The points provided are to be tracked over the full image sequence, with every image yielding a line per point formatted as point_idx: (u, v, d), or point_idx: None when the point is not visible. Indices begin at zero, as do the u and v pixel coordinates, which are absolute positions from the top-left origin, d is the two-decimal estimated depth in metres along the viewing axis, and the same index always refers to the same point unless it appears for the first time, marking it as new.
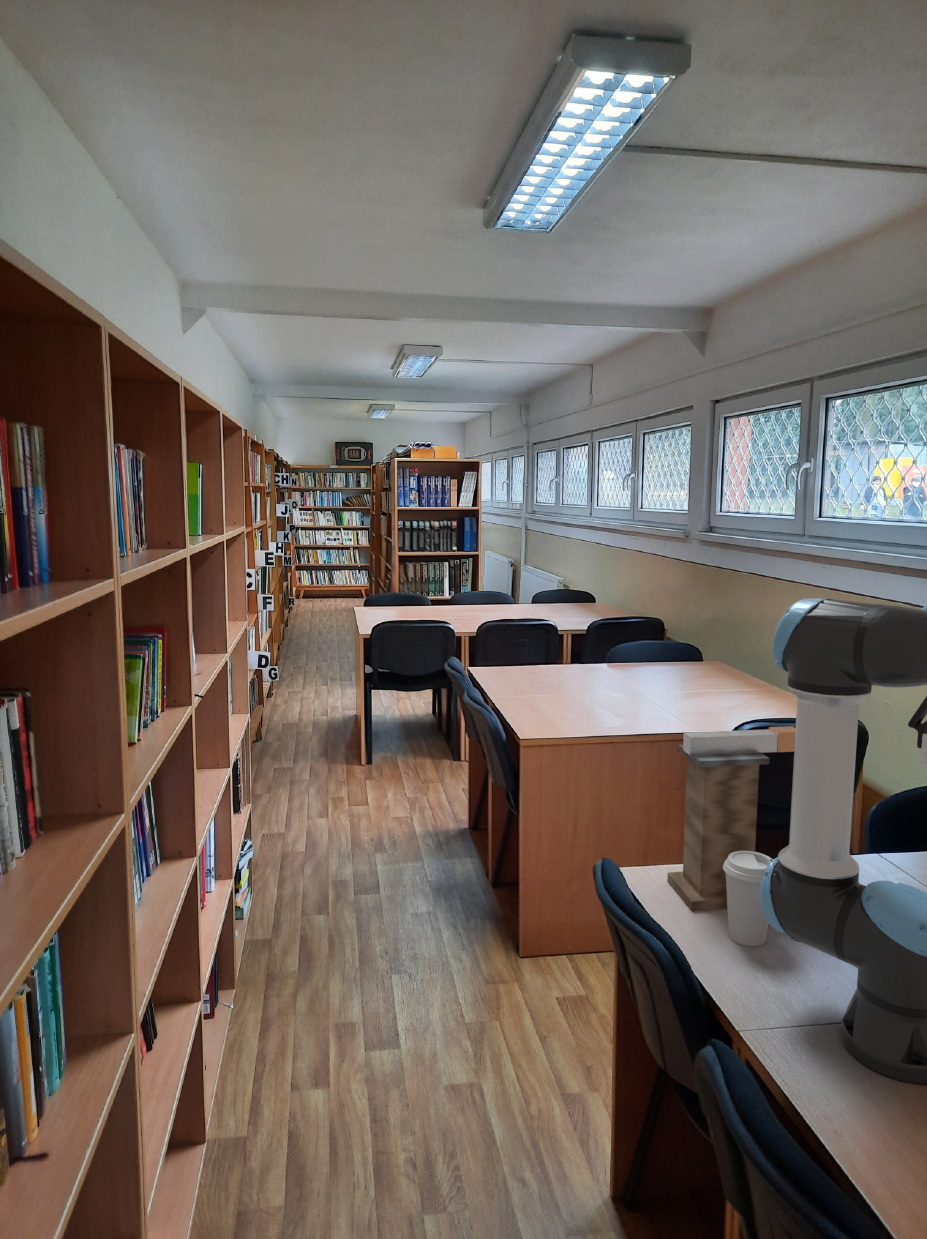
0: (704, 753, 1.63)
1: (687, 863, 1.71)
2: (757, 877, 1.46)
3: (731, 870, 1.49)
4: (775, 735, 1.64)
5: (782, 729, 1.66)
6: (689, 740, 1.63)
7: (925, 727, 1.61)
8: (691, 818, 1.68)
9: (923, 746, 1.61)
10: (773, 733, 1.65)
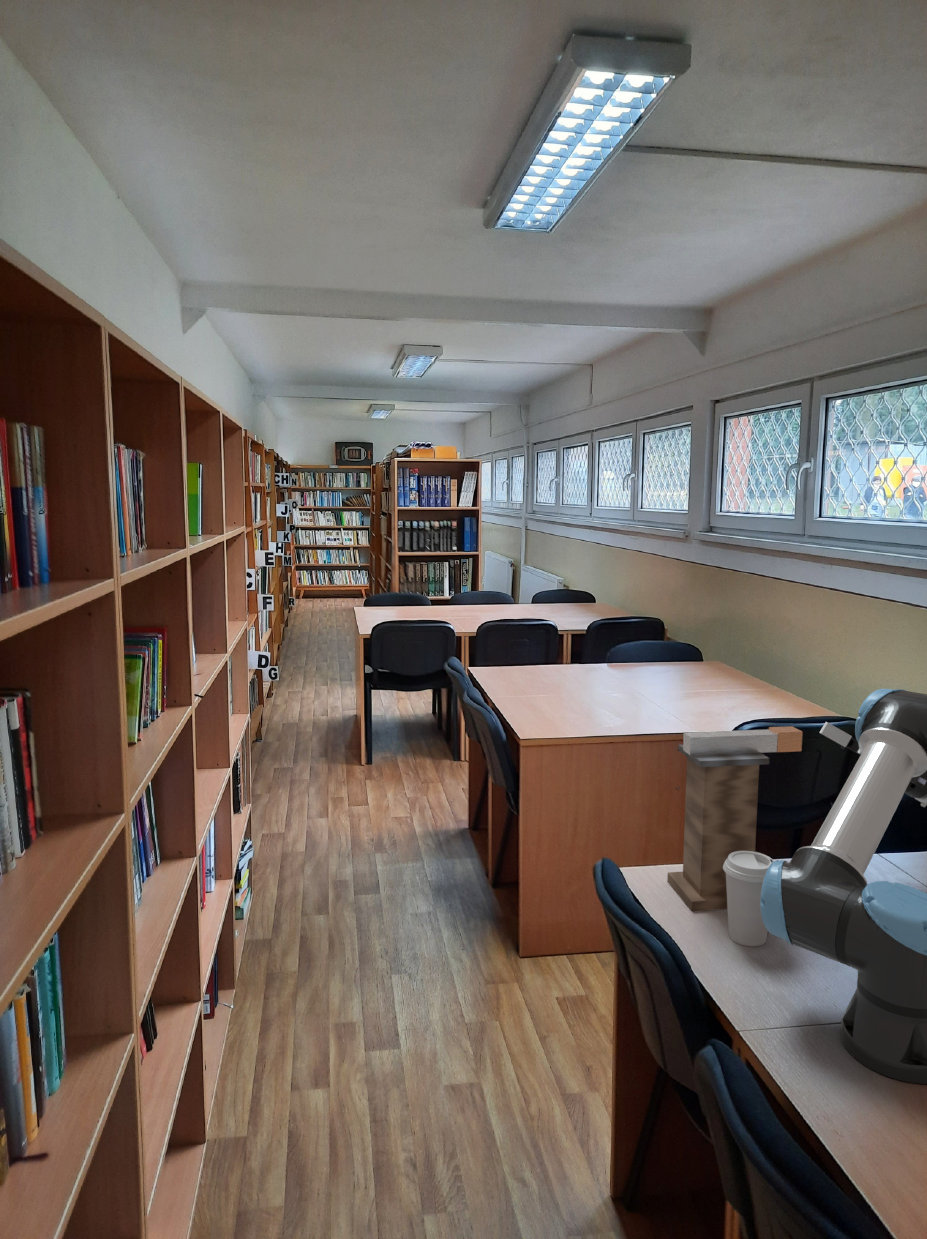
0: (704, 753, 1.63)
1: (687, 863, 1.71)
2: (757, 877, 1.46)
3: (731, 870, 1.49)
4: (775, 735, 1.64)
5: (782, 729, 1.66)
6: (689, 740, 1.63)
7: (855, 739, 1.76)
8: (691, 818, 1.68)
9: (841, 730, 1.75)
10: (773, 733, 1.65)
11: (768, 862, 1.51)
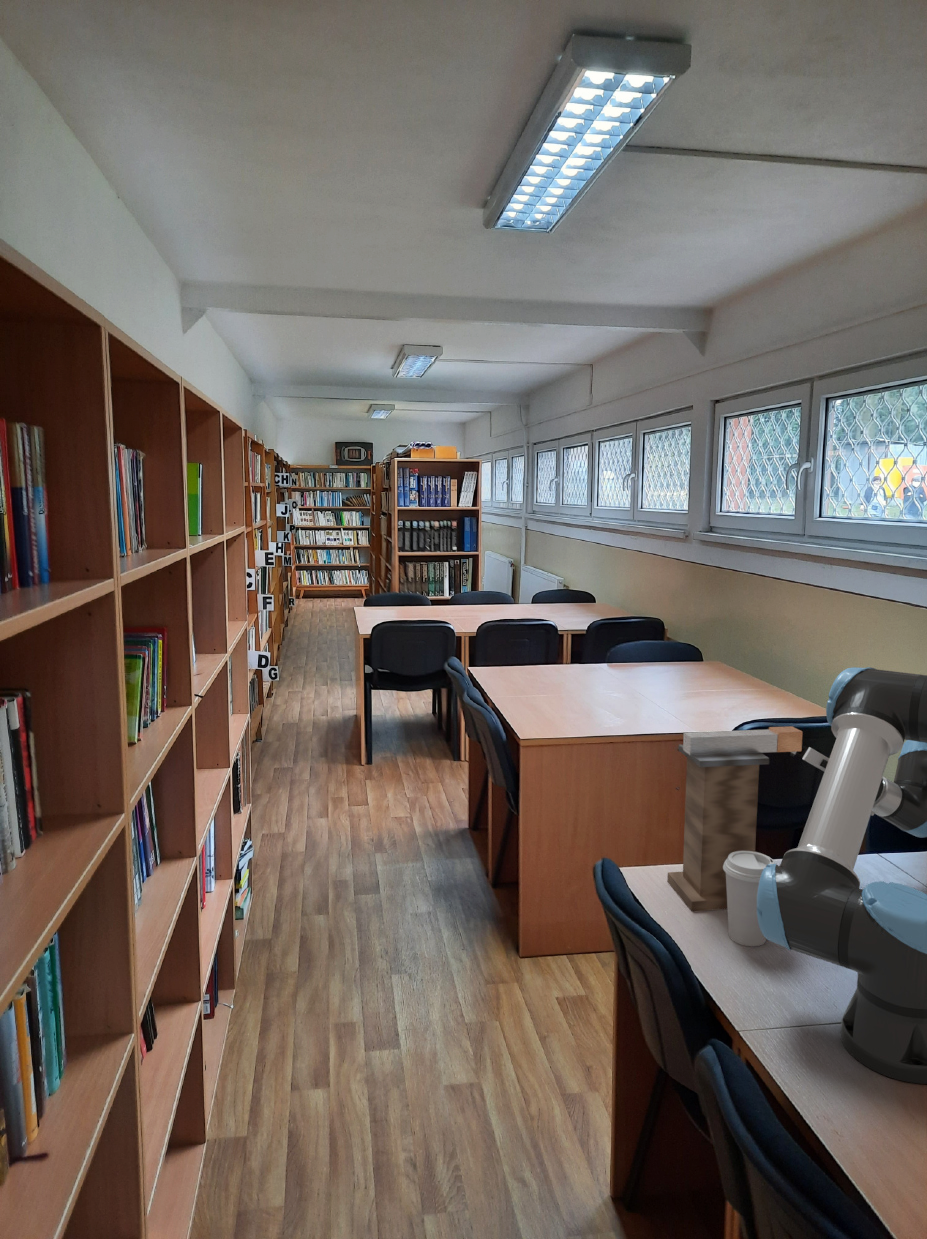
0: (704, 753, 1.63)
1: (687, 863, 1.71)
2: (757, 877, 1.46)
3: (731, 870, 1.49)
4: (775, 735, 1.64)
5: (782, 729, 1.66)
6: (689, 740, 1.63)
7: None
8: (691, 818, 1.68)
9: None
10: (773, 733, 1.65)
11: (768, 862, 1.51)
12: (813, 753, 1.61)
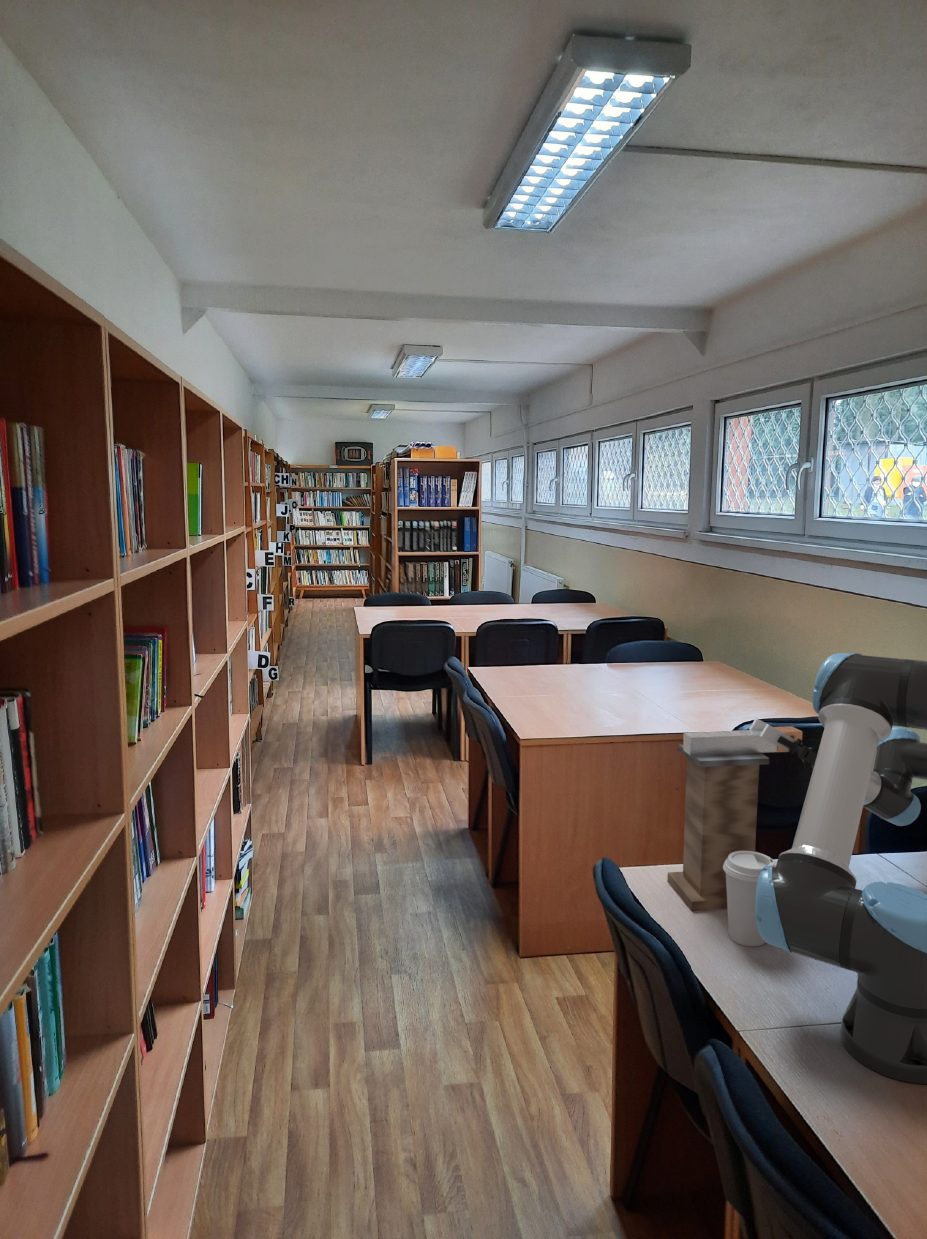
0: (704, 753, 1.63)
1: (687, 863, 1.71)
2: (757, 877, 1.46)
3: (731, 870, 1.49)
4: None
5: (782, 729, 1.66)
6: (689, 740, 1.63)
7: None
8: (691, 818, 1.68)
9: None
10: None
11: (768, 862, 1.51)
12: (771, 730, 1.63)
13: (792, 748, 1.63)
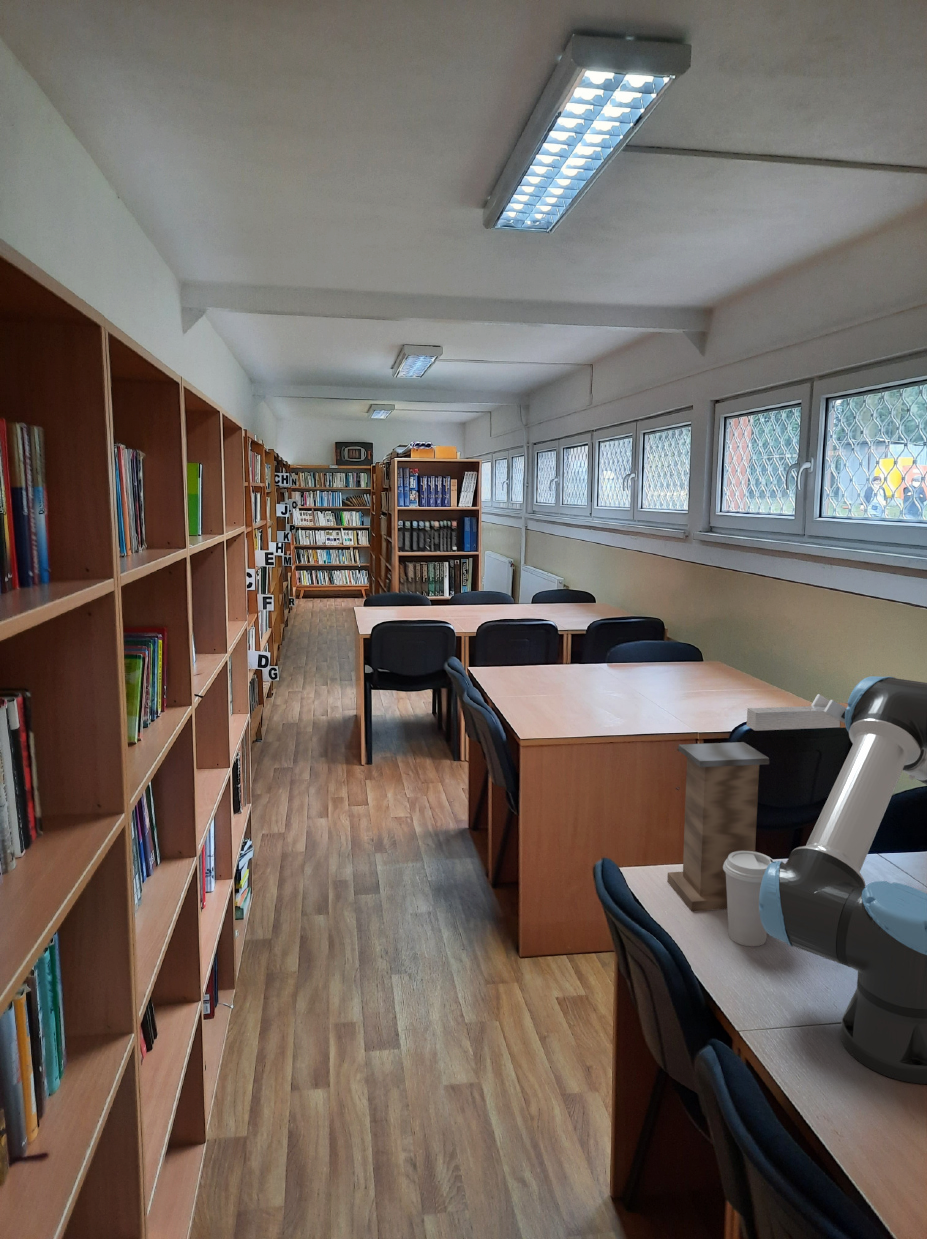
0: (769, 729, 1.65)
1: (687, 863, 1.71)
2: (757, 877, 1.46)
3: (731, 870, 1.49)
4: None
5: (844, 705, 1.68)
6: (753, 716, 1.65)
7: None
8: (691, 818, 1.68)
9: None
10: None
11: (768, 862, 1.51)
12: (835, 705, 1.65)
13: None
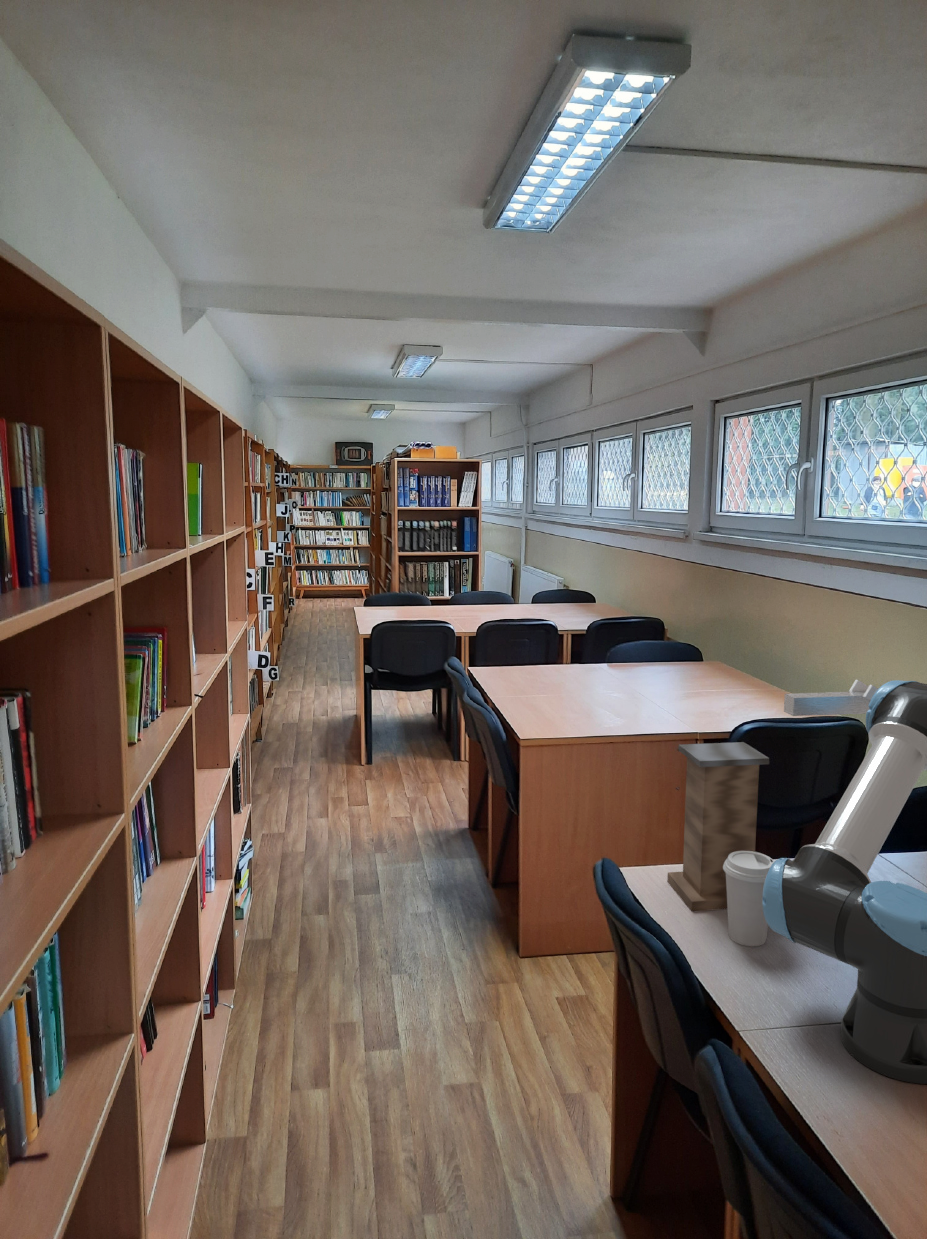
0: (807, 714, 1.62)
1: (687, 863, 1.71)
2: (757, 877, 1.46)
3: (731, 870, 1.49)
4: None
5: None
6: (791, 701, 1.62)
7: None
8: (691, 818, 1.68)
9: None
10: None
11: (768, 862, 1.51)
12: (874, 690, 1.62)
13: None
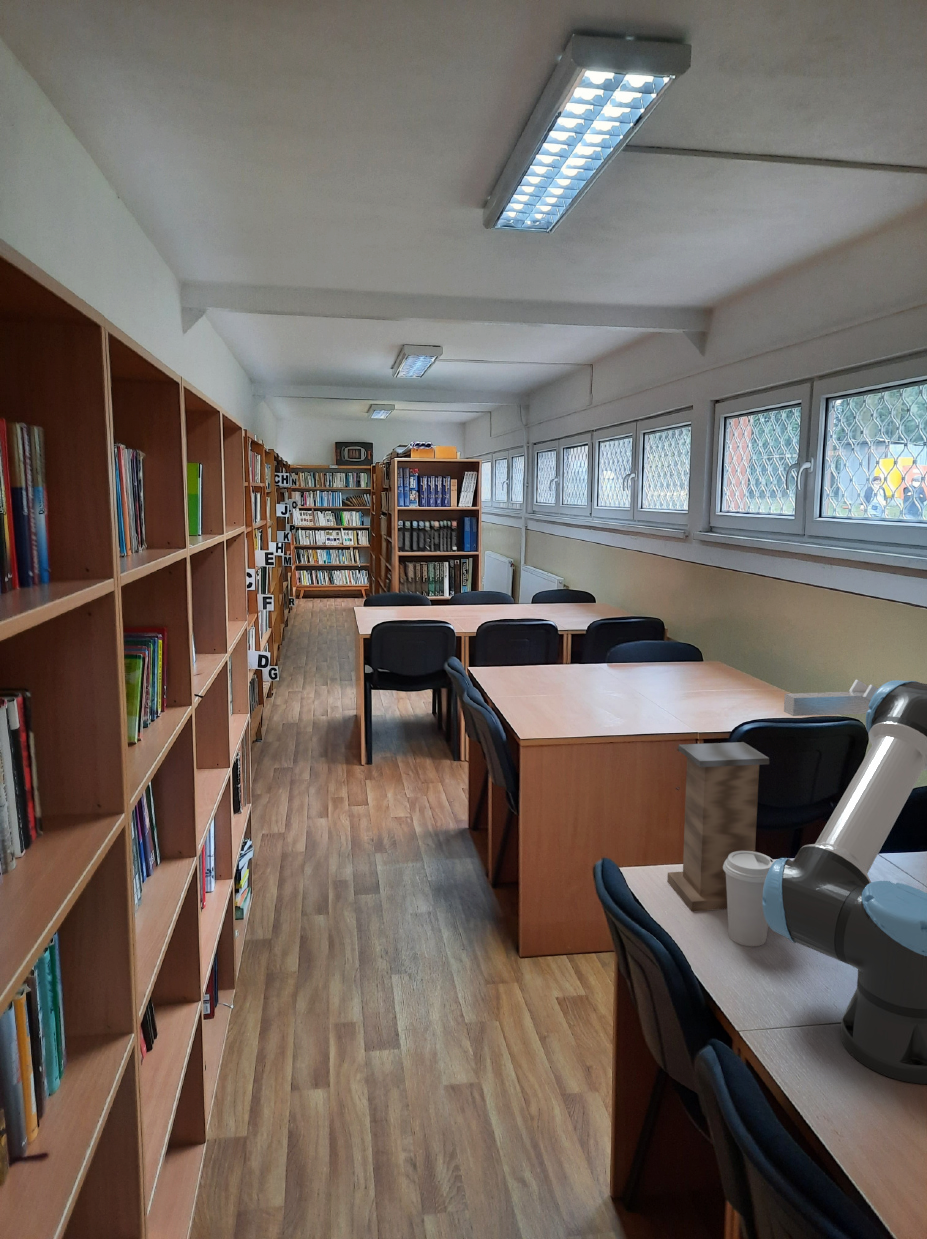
0: (807, 714, 1.62)
1: (687, 863, 1.71)
2: (757, 877, 1.46)
3: (731, 870, 1.49)
4: None
5: None
6: (791, 701, 1.62)
7: None
8: (691, 818, 1.68)
9: None
10: None
11: (768, 862, 1.51)
12: (874, 690, 1.62)
13: None
